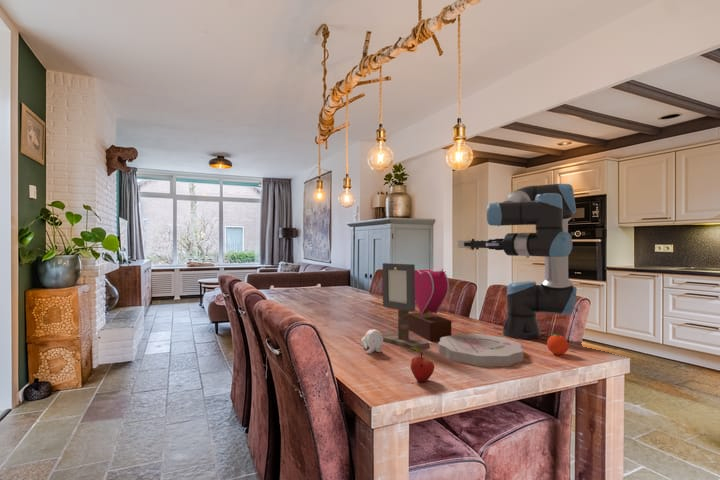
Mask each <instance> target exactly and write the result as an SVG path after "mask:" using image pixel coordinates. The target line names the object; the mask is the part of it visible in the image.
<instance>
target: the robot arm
mask: <svg viewBox="0 0 720 480" xmlns="http://www.w3.org/2000/svg"><path fill="white" fill-rule="evenodd" d="M576 207H577V206H576V200H575V193H574V187H573V186H572V185H571V184H570V183H554V184H553V183H552V184H541V185H527V186H524V187H521V188H518V189H517V188H516V189H515V190H513V191H511V192H510V193H508V194H507V196H506V197H505V199H504V200H503V201H502V202H498V201H497V202H493V203H492V202H491V203H489V204H487V207H486V222H487V224H488V225H489V226H497V227H500V226H533V225H534V226H535V232H515V233H514V232H511V233H510V232H508V233H506V234H505V235H504V237H503V238H495V239H490V238H489V239H488V240H483V239H482V240H475V238H471V240H457V248H458V249H459V248H460V249H475V250H476V251H477V250H479V249H489V250H495V251H503V252H504V253H505V255H506V256H509V257H510V256H513V257H514V256H515V257H518V256H519V257H521V256H522V257H523V256H525V257H526V259H527V258H528V259H529V258H530V257H544V278H543V279H542V280H541V282H540V284H537V282H536V281H534V280H533V281H531V280H529V281H527V280H526V281H517V282H511V283H509V284H508V285H507V287H506V288H507V289H506V308H507V309H506V319H505V321H504V323H503V324H504V325H503V327H502V334H503V335H504V336H507V337H509V338H514V339H521V340H523V339H524V340H535V339H540V338H541V335H542V333H541V329H540V326H539V323H538V320H537V313H542V314H543V313H544V314H554V315H555V314H556V315H571V314H573V313H574V310H575V306H576V300H577V299H576V297H577V292H578V291H577V287H576V286H575V285H573V281H572V280H570V279H569V255H570V254H571V252H572V250H573V240H572V238H573V237H572V234H570V233H569V221H570V220H571V219H573V214H576V213H577V208H576Z"/></svg>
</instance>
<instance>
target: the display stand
mask: <svg viewBox="0 0 720 480" xmlns="http://www.w3.org/2000/svg"><path fill="white" fill-rule="evenodd" d="M409 312H410V311H405V310H400V309H397V313H398V314H397V316H398V317H397V318H398V319H397V325H398V326H397V328H398V329H397V330H398V331H397V333H393V332H385V333H381V335H382V337H383V342H385V343H388V344H392V345H395V346H399V347H403V348H406V349H409V348H411V349H410V350H413V351H416V350H415V349H412V347H416V348H418V349H419V350H422V349H426V348H429V347H430V342H429V341H428V342H427V341H424V340H420V339H416V338H413V337H410V335H409V333H410V330H409Z"/></svg>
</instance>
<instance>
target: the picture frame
mask: <svg viewBox="0 0 720 480" xmlns="http://www.w3.org/2000/svg"><path fill="white" fill-rule="evenodd" d="M415 267H416V265H415V264H413V263H412V264H411V263H388V262H384V263H383V262H382V307H384V308H388V309H395V310H398V309H400V310H405V311H409V312H410V313H413V312H416V300H415V270H416V268H415Z"/></svg>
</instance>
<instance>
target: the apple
mask: <svg viewBox="0 0 720 480" xmlns="http://www.w3.org/2000/svg"><path fill="white" fill-rule="evenodd" d="M412 349H415V350H414V351H417V352H419V353H420V356H417V355H415V356H413V358H412V359H411V362H410V369H411V373H412V374H413V376H414V378H415V380H416V381H417V382H419V383H420V382H421V383H426V382H427V381H428V380H429V379H430V378H431V376H432V375H433V373H434V370H435V363H434V362H433V361H432V360H431V359H430V358H425V357H424V356H423V355H424V352H423V351H420V349H418V348H416V347H412ZM412 349H411V348H408V350H412Z"/></svg>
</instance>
